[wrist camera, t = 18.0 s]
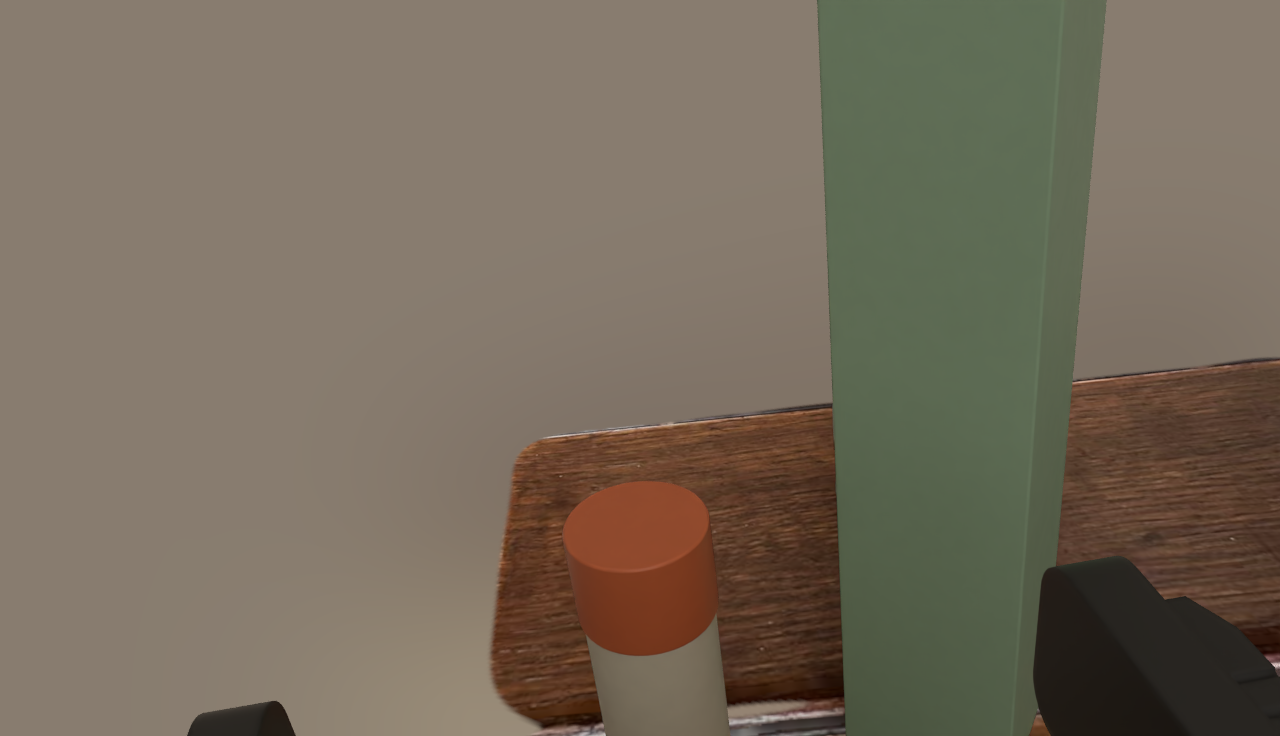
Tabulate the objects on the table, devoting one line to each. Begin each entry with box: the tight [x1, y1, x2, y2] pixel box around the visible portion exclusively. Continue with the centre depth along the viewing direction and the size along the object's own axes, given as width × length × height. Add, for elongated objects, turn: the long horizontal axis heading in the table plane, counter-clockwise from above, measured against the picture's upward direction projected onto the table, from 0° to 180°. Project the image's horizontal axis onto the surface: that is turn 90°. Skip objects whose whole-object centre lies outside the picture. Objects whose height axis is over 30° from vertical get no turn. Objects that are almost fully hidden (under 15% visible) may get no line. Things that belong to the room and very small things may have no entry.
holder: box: [817, 0, 1106, 736], centre depth 25 cm, size 7×7×31 cm
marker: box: [562, 481, 730, 736], centre depth 26 cm, size 3×3×12 cm
